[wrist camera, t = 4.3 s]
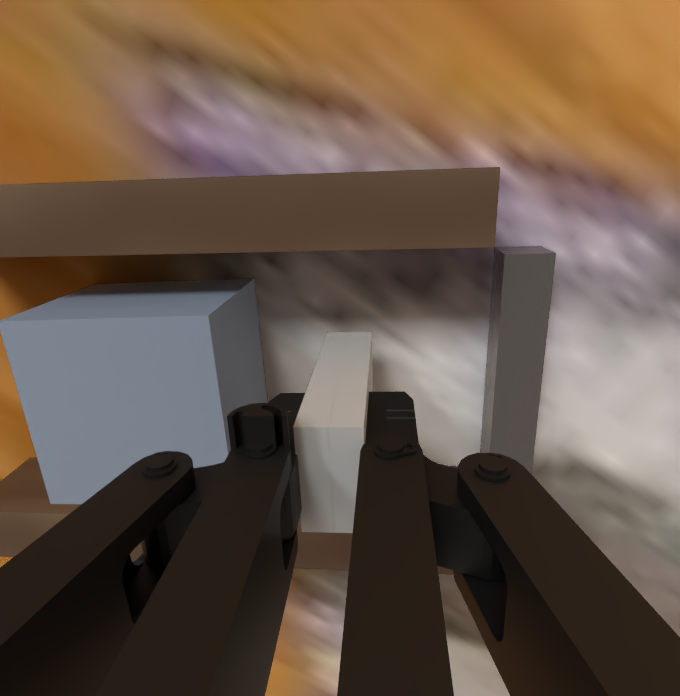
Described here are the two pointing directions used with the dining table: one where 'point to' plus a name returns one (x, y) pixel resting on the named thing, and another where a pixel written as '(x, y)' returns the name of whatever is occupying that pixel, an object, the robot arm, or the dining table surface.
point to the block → (133, 376)
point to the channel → (234, 237)
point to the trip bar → (516, 350)
